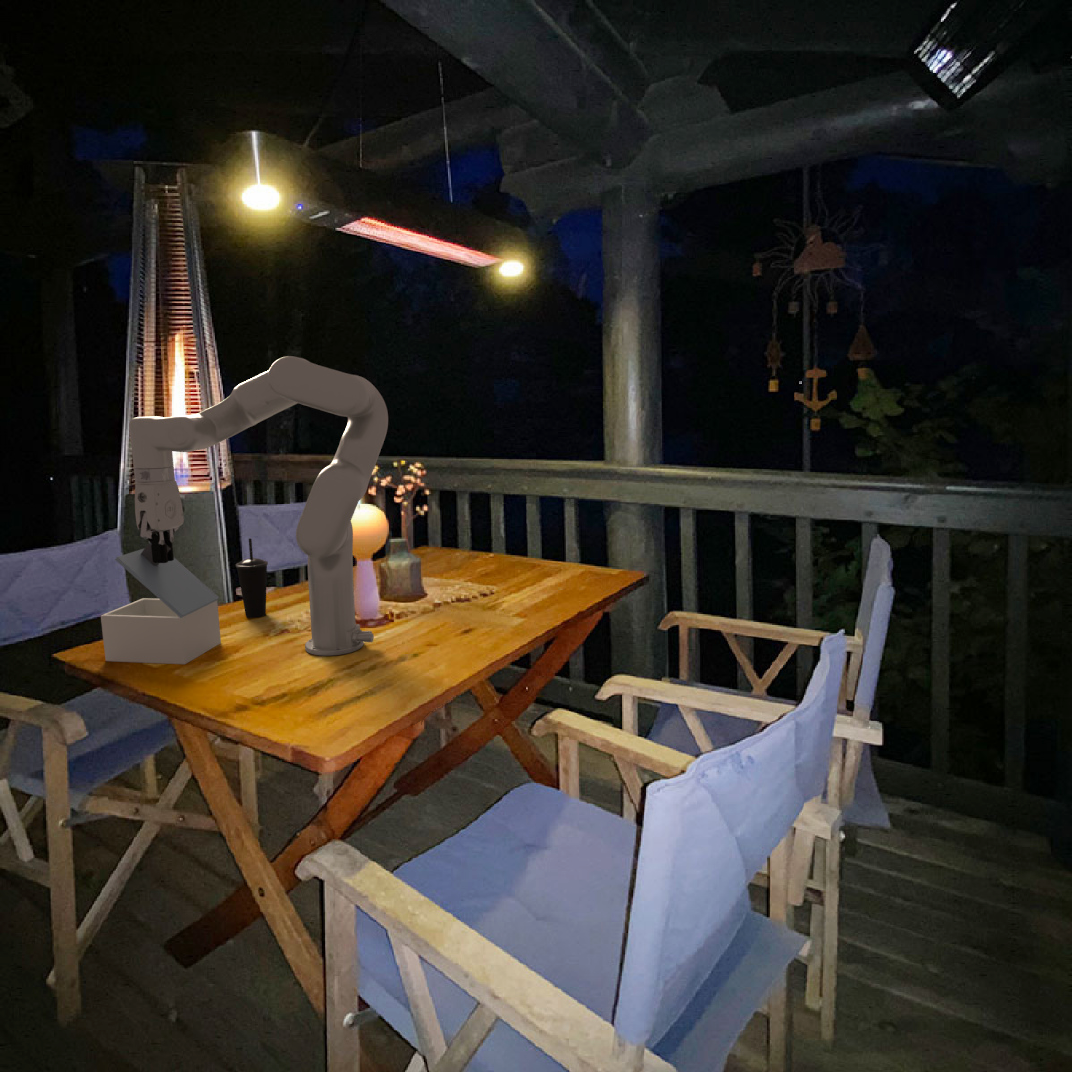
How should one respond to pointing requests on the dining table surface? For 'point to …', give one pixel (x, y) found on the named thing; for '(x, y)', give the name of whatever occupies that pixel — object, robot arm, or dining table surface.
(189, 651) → the carton
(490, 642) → the dining table surface
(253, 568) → the drinking cup
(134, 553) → the lid flap
